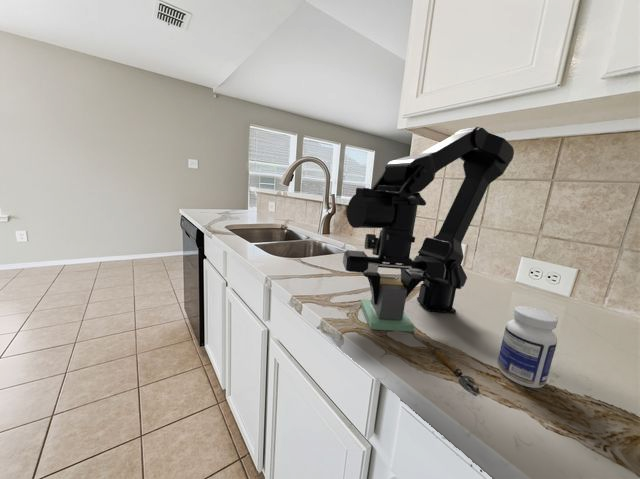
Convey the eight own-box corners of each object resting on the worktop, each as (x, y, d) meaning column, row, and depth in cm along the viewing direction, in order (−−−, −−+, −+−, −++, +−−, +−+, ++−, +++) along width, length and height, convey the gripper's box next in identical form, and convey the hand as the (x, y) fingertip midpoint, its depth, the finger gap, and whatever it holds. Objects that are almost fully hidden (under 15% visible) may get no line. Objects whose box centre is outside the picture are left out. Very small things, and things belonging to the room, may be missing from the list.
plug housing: (370, 301, 54) (374, 274, 53) (391, 303, 55) (395, 276, 53) (379, 318, 48) (383, 287, 46) (402, 319, 48) (407, 289, 46)
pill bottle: (522, 362, 40) (537, 305, 38) (556, 391, 35) (576, 324, 33) (487, 360, 40) (501, 302, 38) (515, 389, 34) (534, 322, 32)
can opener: (431, 353, 41) (432, 347, 41) (444, 353, 41) (445, 347, 41) (470, 398, 32) (472, 391, 32) (486, 398, 33) (488, 391, 32)
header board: (360, 304, 56) (362, 288, 55) (395, 307, 56) (398, 291, 56) (370, 329, 46) (373, 310, 46) (413, 331, 47) (416, 313, 46)
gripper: (427, 226, 56) (415, 291, 59) (343, 219, 55) (336, 286, 58) (454, 235, 45) (439, 315, 48) (351, 226, 44) (342, 308, 47)
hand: (386, 304), depth 51 cm, fingers closed on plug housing, 4 cm apart
